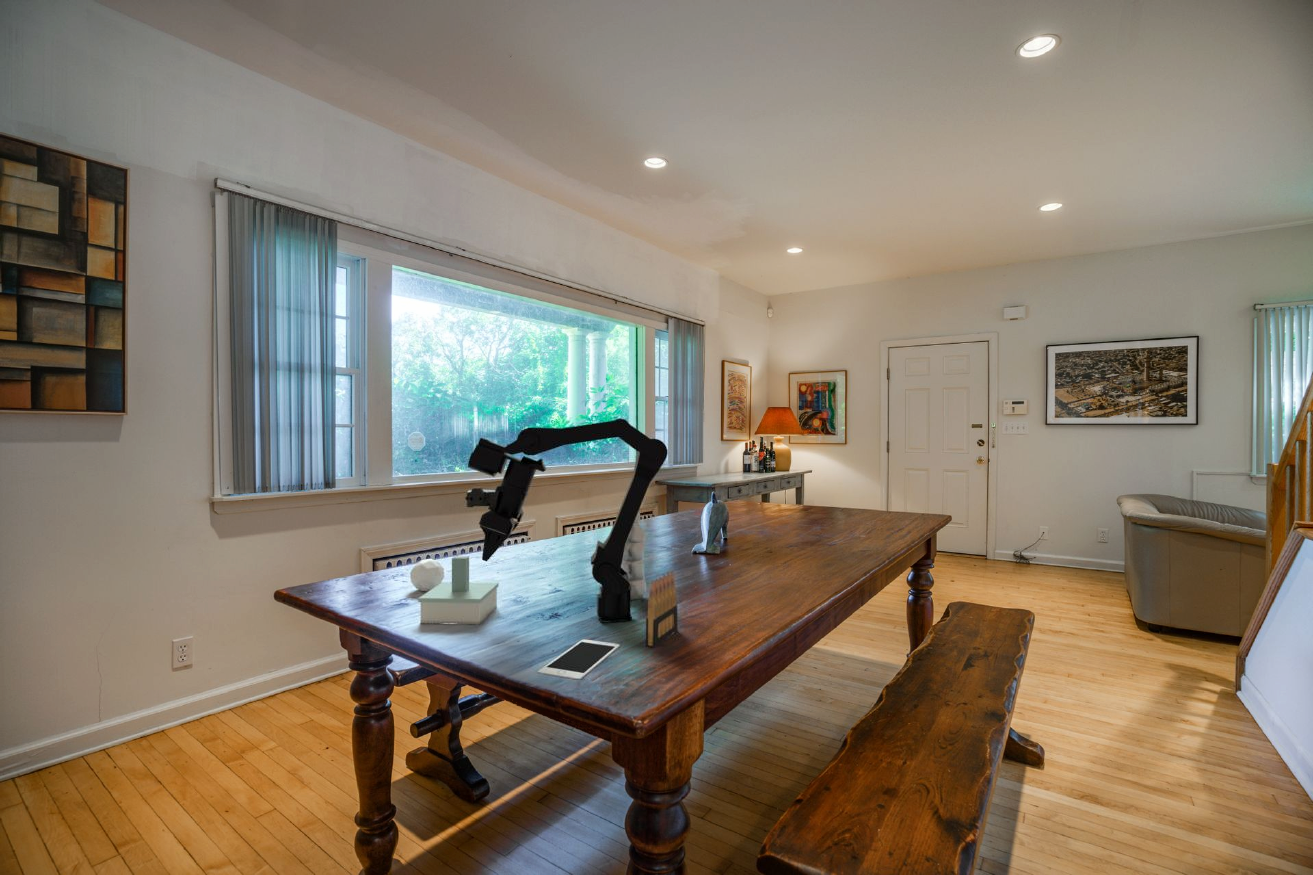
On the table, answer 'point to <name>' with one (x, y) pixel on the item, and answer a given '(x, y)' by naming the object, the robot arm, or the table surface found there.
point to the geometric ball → (427, 574)
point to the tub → (458, 611)
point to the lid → (459, 586)
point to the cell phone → (579, 659)
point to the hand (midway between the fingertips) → (488, 555)
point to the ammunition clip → (661, 610)
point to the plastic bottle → (635, 560)
